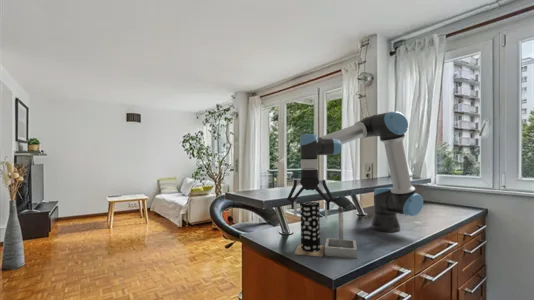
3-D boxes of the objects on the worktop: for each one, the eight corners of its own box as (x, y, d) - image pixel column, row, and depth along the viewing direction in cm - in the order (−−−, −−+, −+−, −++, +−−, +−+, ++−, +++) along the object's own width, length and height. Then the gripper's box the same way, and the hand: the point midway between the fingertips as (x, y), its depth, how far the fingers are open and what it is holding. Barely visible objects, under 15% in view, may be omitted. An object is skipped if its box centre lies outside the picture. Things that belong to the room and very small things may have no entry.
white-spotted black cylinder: (323, 250, 119) (322, 204, 119) (305, 253, 117) (304, 205, 117) (315, 244, 127) (314, 201, 127) (298, 246, 125) (297, 202, 125)
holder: (355, 245, 128) (354, 206, 129) (357, 258, 112) (356, 214, 113) (327, 243, 132) (326, 205, 132) (324, 255, 116) (324, 212, 116)
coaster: (325, 247, 126) (325, 245, 126) (323, 256, 115) (323, 254, 115) (299, 245, 129) (298, 243, 129) (294, 254, 118) (294, 252, 118)
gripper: (338, 168, 123) (339, 216, 123) (283, 168, 129) (284, 213, 129) (338, 169, 116) (339, 220, 115) (280, 169, 122) (281, 217, 122)
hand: (310, 217), depth 122 cm, fingers open, 13 cm apart
